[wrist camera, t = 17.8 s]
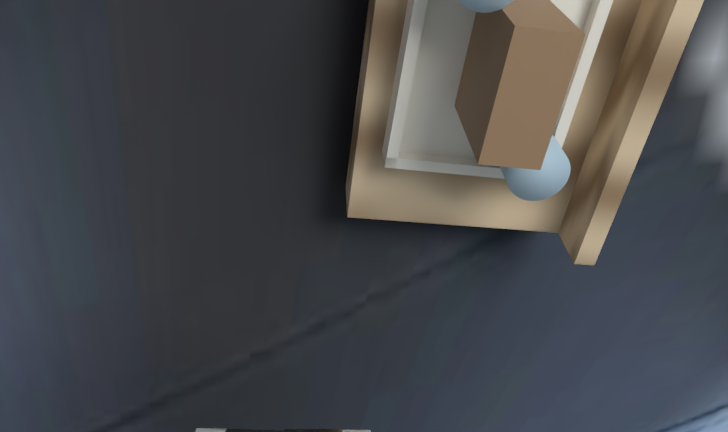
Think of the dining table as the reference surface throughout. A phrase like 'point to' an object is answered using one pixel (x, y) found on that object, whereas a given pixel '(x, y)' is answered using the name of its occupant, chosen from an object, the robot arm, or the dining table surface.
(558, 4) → the caddy tray
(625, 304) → the dining table surface
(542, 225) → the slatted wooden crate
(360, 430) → the robot arm
